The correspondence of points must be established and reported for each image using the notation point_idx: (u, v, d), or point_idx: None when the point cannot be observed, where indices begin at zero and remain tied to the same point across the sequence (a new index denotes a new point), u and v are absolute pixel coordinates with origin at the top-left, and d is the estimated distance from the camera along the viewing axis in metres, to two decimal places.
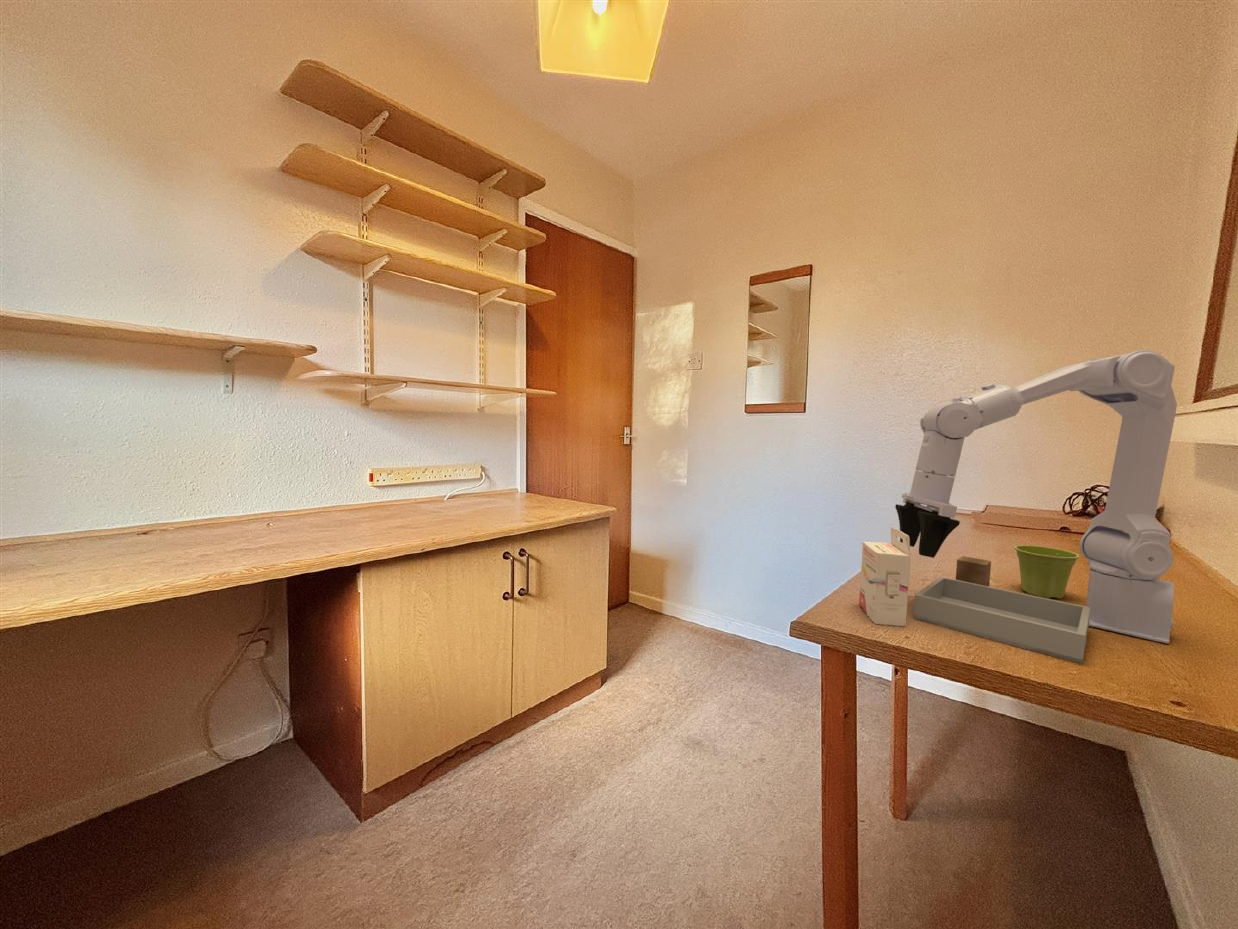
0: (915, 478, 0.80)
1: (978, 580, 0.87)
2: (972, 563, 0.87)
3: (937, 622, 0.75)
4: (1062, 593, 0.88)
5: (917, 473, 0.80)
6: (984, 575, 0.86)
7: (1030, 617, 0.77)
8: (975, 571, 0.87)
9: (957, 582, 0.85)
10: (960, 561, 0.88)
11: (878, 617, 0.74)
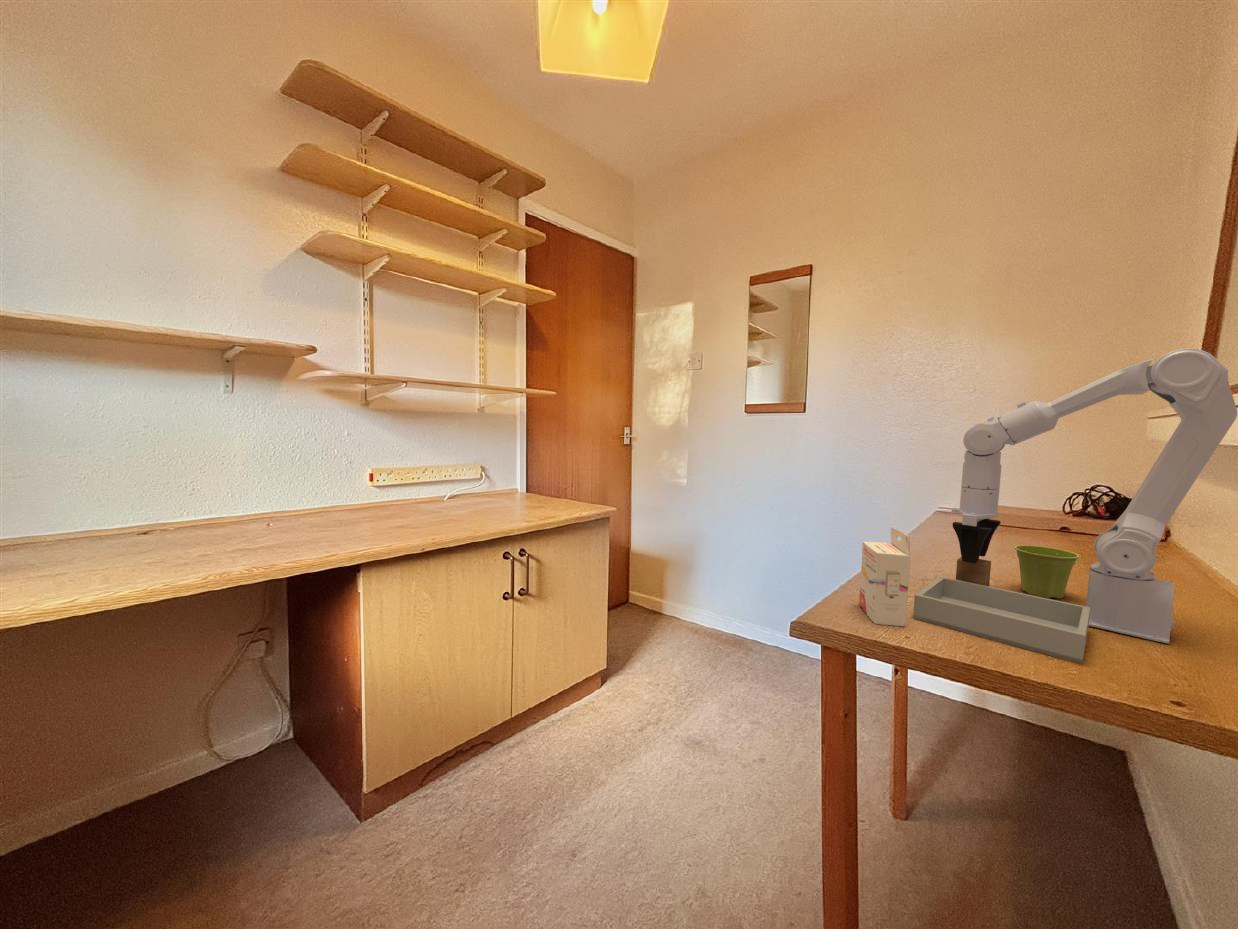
0: None
1: (978, 580, 0.87)
2: (972, 563, 0.87)
3: (937, 622, 0.75)
4: (1062, 593, 0.88)
5: (961, 488, 0.90)
6: (984, 575, 0.86)
7: (1030, 617, 0.77)
8: (975, 571, 0.87)
9: (957, 582, 0.85)
10: (960, 561, 0.88)
11: (878, 617, 0.74)
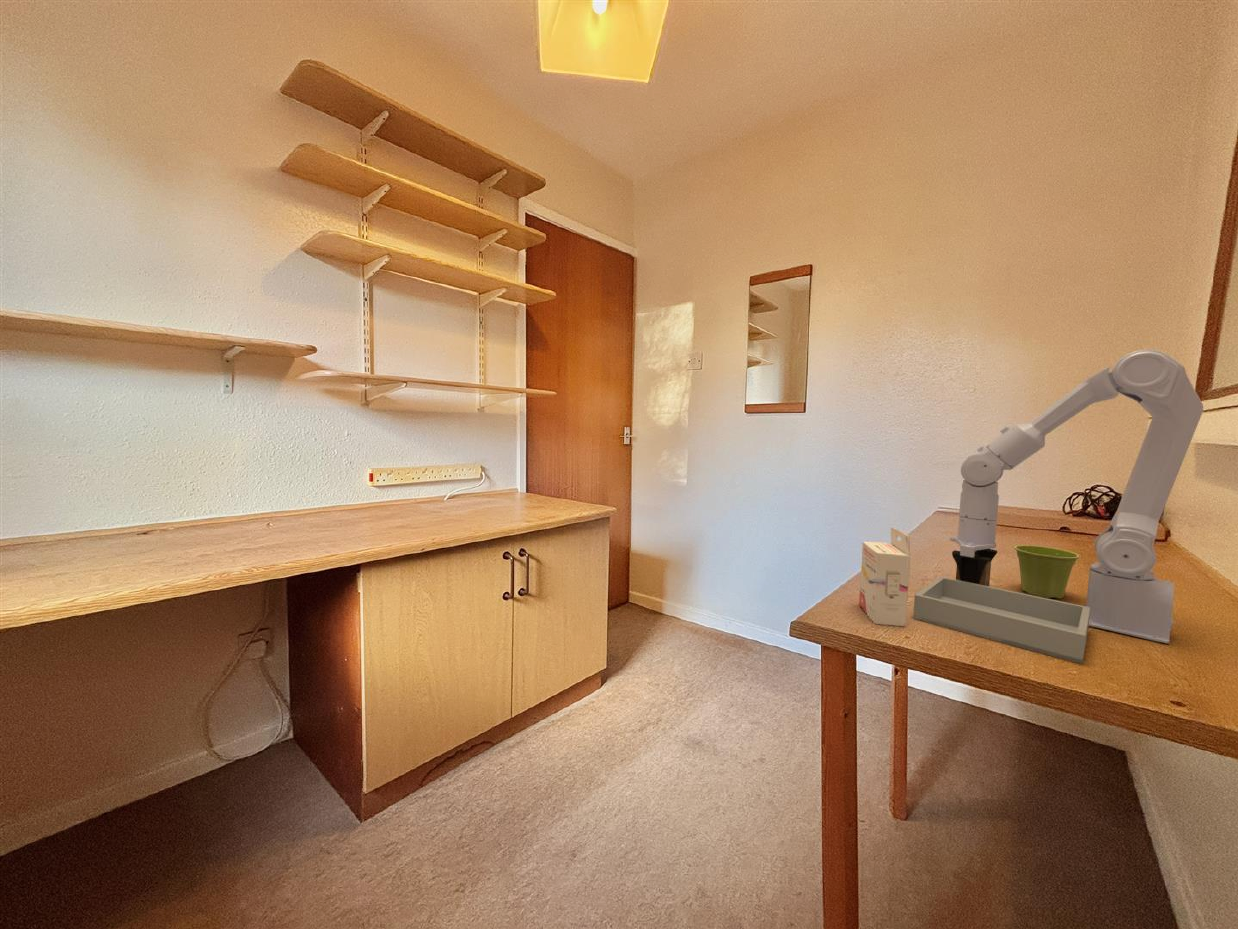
0: None
1: None
2: None
3: (937, 622, 0.75)
4: (1062, 593, 0.88)
5: (959, 517, 0.90)
6: (984, 575, 0.86)
7: (1030, 617, 0.77)
8: None
9: (957, 582, 0.85)
10: None
11: (878, 617, 0.74)
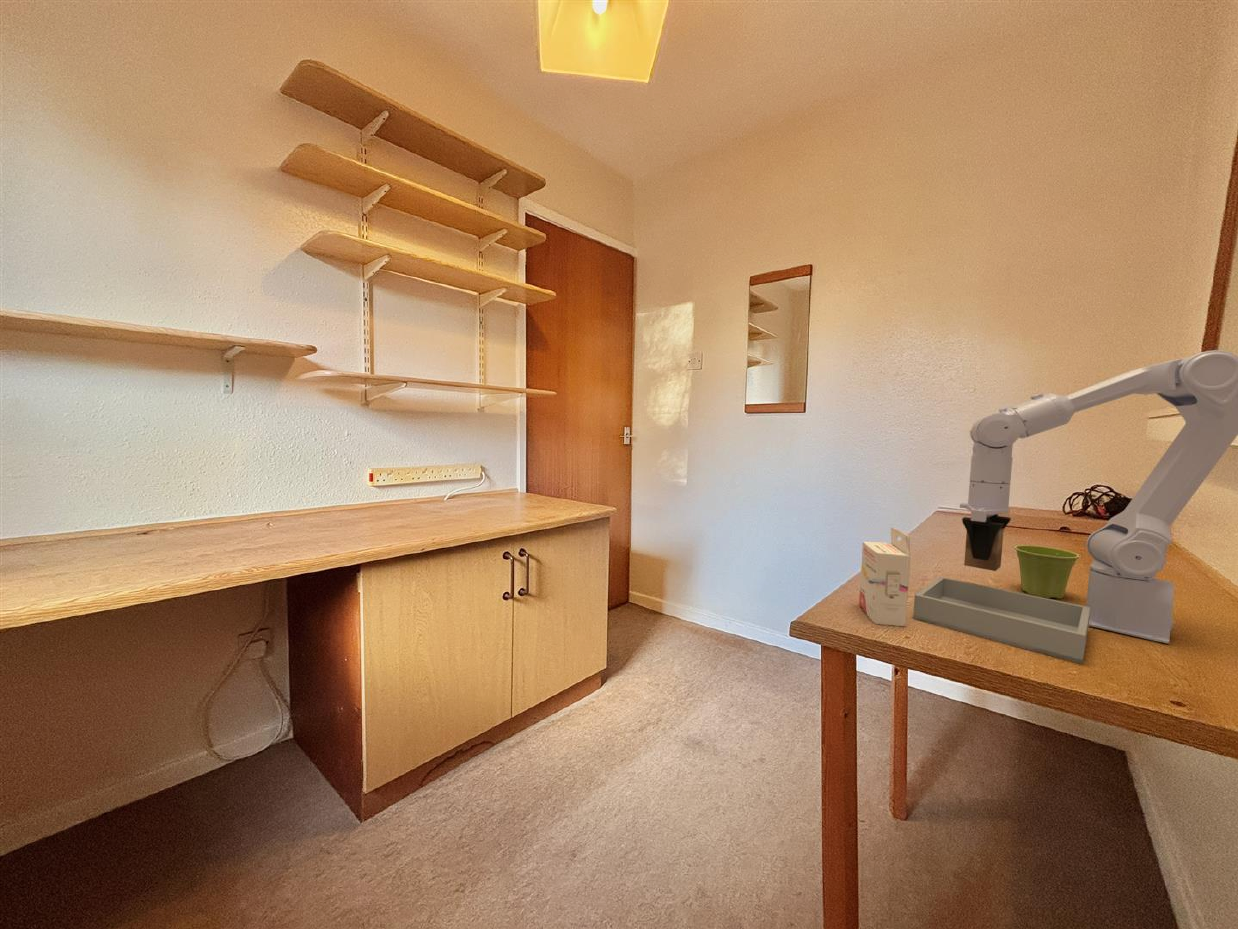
0: None
1: None
2: None
3: (937, 622, 0.75)
4: (1062, 593, 0.88)
5: None
6: (996, 542, 0.81)
7: (1030, 617, 0.77)
8: None
9: (957, 582, 0.85)
10: None
11: (878, 617, 0.74)
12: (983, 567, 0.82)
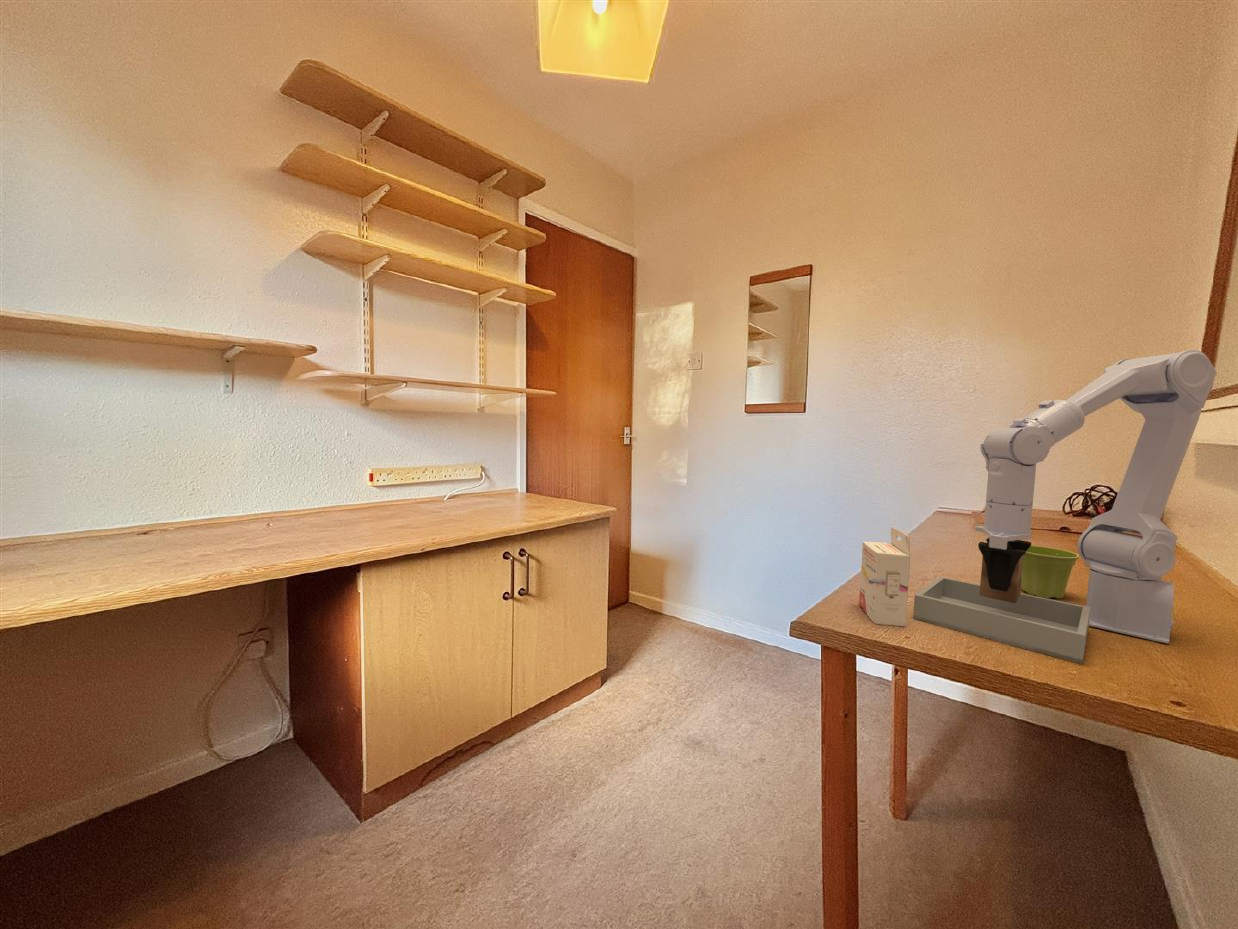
0: (985, 508, 0.76)
1: None
2: None
3: (937, 622, 0.75)
4: (1062, 593, 0.88)
5: None
6: (1016, 571, 0.72)
7: (1030, 617, 0.77)
8: None
9: (957, 582, 0.85)
10: None
11: (878, 617, 0.74)
12: (1001, 598, 0.73)
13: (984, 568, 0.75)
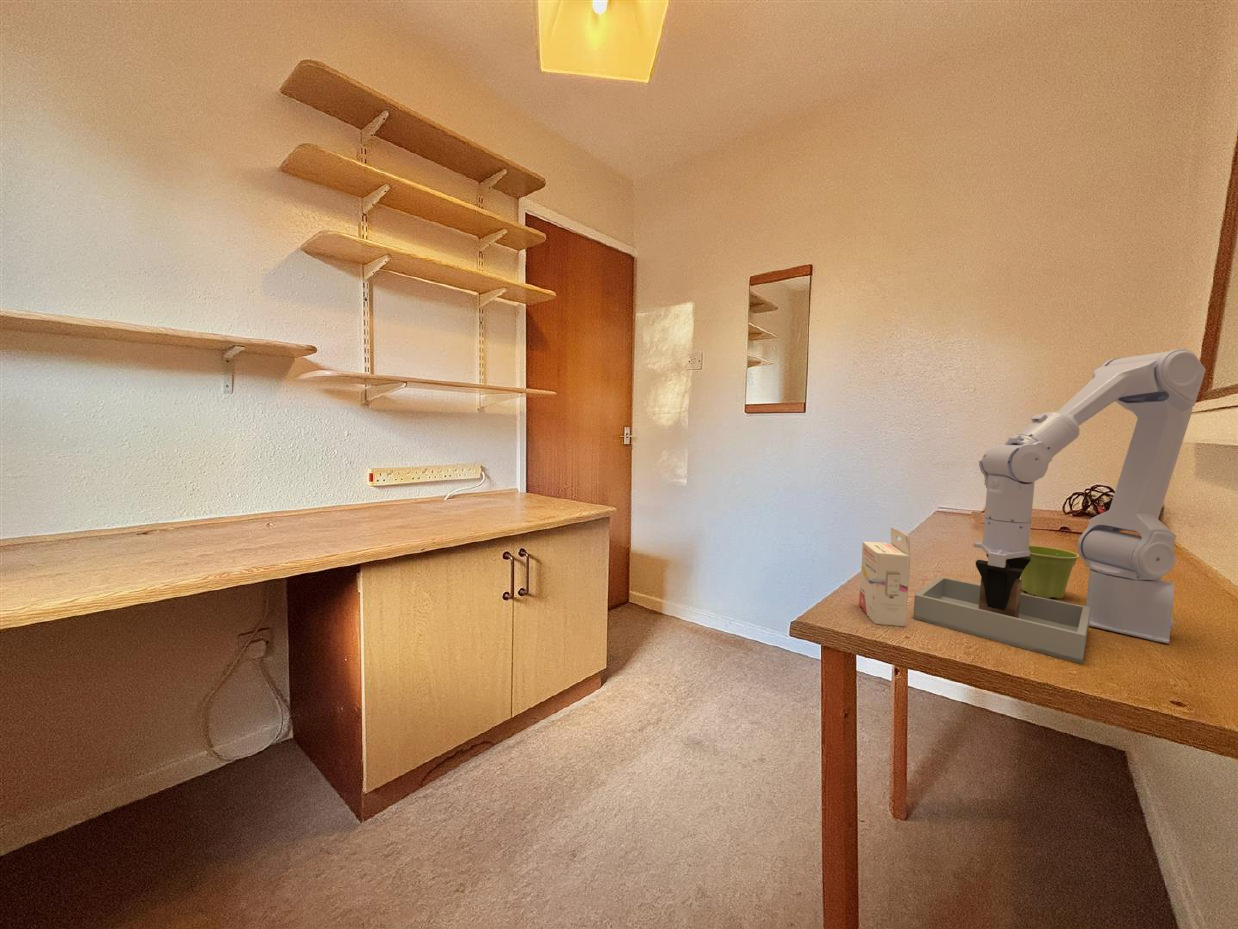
0: (984, 525, 0.76)
1: None
2: None
3: (937, 622, 0.75)
4: (1062, 593, 0.88)
5: None
6: (1014, 597, 0.72)
7: (1030, 617, 0.77)
8: None
9: (957, 582, 0.85)
10: None
11: (878, 617, 0.74)
12: None
13: (982, 593, 0.75)
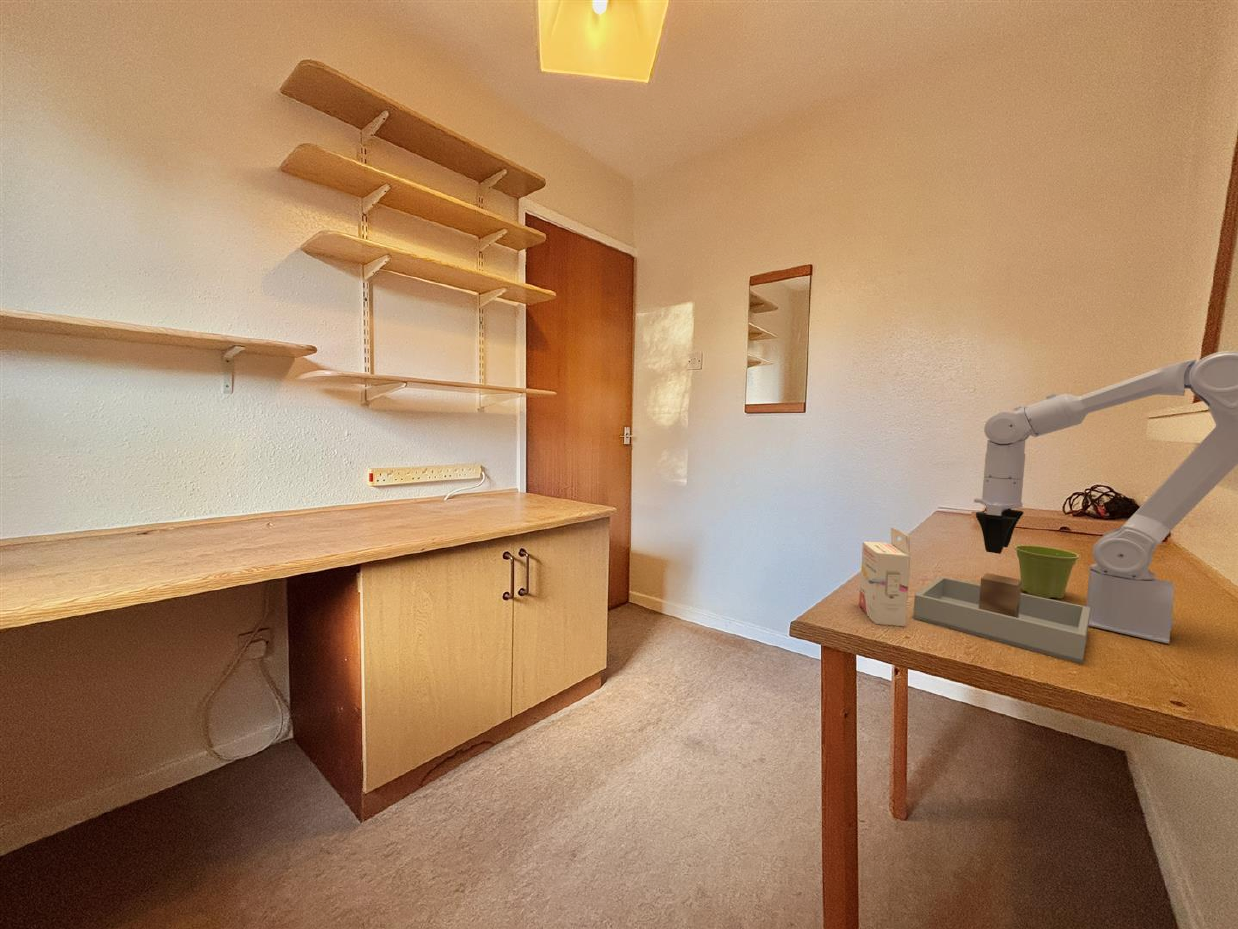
0: None
1: (1006, 603, 0.73)
2: (999, 583, 0.73)
3: (937, 622, 0.75)
4: (1062, 593, 0.88)
5: None
6: (1014, 597, 0.72)
7: (1030, 617, 0.77)
8: (1003, 593, 0.73)
9: (957, 582, 0.85)
10: (985, 580, 0.75)
11: (878, 617, 0.74)
12: None
13: (982, 593, 0.75)
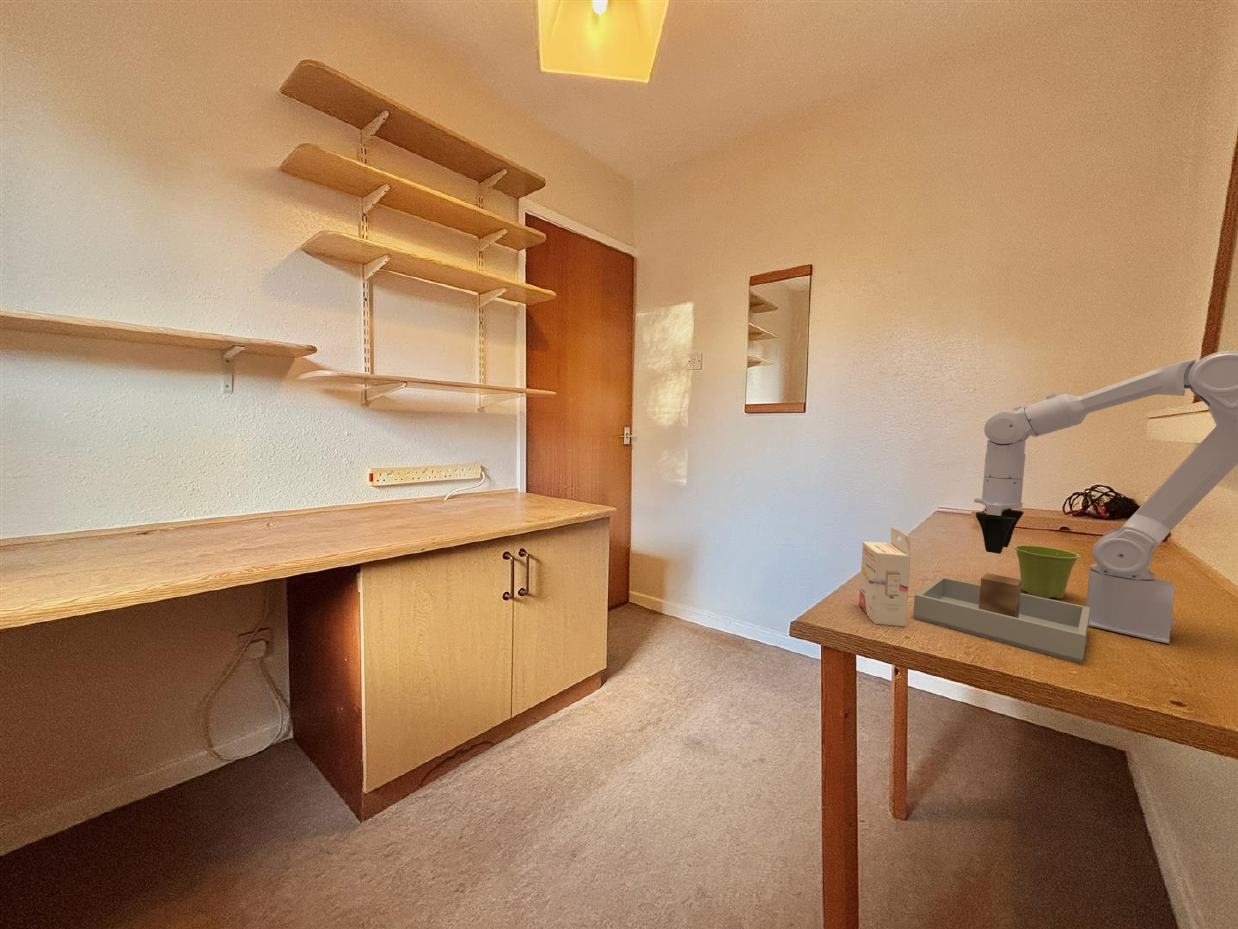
0: None
1: (1006, 603, 0.73)
2: (999, 583, 0.73)
3: (937, 622, 0.75)
4: (1062, 593, 0.88)
5: None
6: (1014, 597, 0.72)
7: (1030, 617, 0.77)
8: (1003, 593, 0.73)
9: (957, 582, 0.85)
10: (985, 580, 0.75)
11: (878, 617, 0.74)
12: None
13: (982, 593, 0.75)
